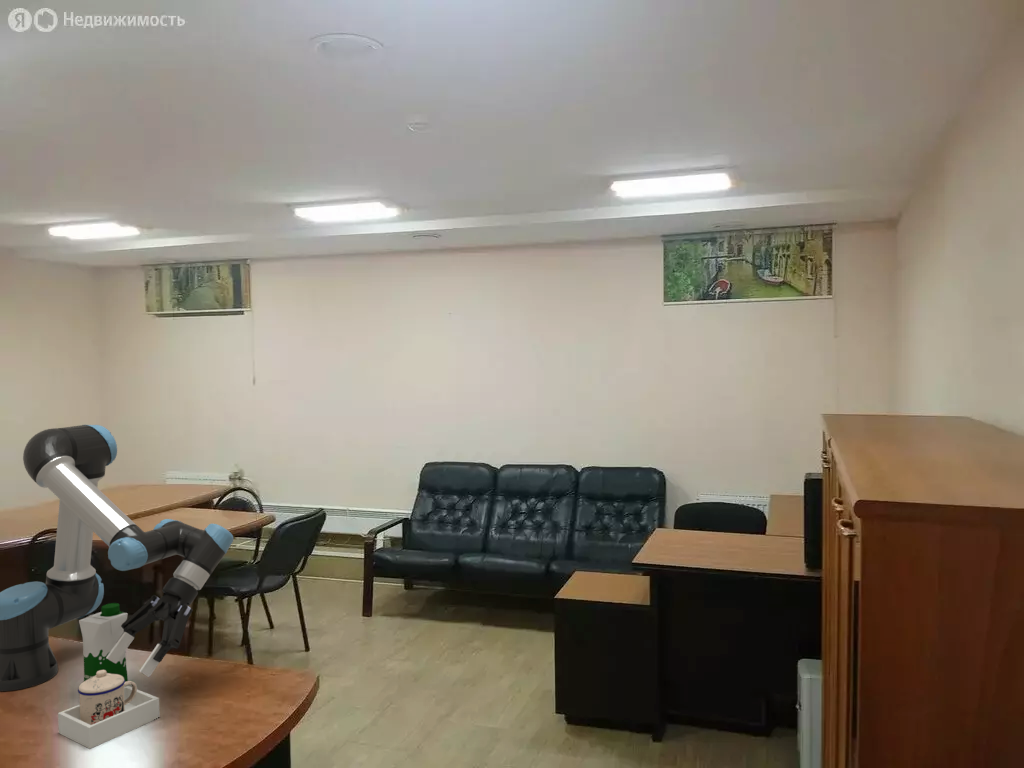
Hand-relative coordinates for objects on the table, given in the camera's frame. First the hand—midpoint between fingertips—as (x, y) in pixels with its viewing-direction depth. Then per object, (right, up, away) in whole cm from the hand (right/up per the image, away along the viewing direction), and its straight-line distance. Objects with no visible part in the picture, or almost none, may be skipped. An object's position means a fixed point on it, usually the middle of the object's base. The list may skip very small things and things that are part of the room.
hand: (127, 667), depth 167 cm
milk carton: (-14, -12, +17) cm, 25 cm away
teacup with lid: (-3, -11, -2) cm, 12 cm away
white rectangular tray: (-2, -12, -3) cm, 12 cm away
